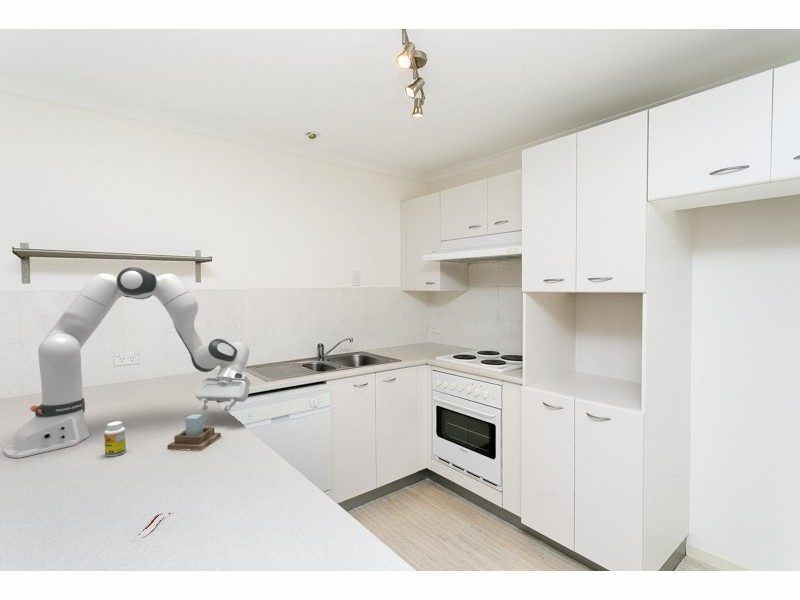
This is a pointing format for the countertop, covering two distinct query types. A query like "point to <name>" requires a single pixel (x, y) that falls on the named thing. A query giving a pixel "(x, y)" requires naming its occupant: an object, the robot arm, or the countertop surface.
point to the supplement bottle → (114, 439)
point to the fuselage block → (194, 425)
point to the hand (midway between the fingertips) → (215, 410)
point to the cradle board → (194, 440)
